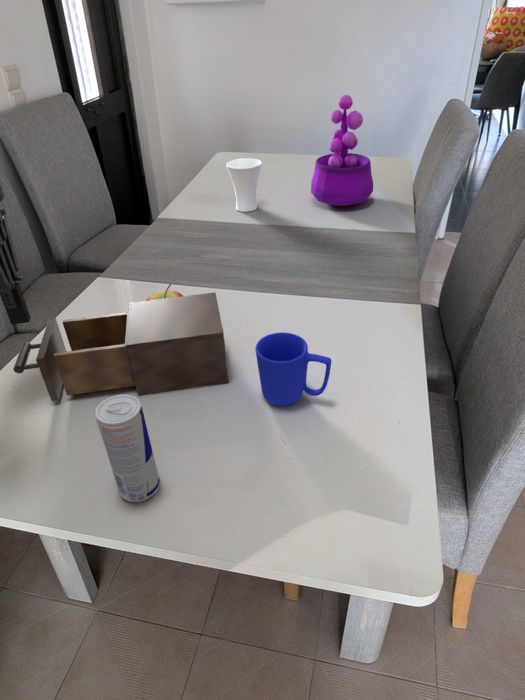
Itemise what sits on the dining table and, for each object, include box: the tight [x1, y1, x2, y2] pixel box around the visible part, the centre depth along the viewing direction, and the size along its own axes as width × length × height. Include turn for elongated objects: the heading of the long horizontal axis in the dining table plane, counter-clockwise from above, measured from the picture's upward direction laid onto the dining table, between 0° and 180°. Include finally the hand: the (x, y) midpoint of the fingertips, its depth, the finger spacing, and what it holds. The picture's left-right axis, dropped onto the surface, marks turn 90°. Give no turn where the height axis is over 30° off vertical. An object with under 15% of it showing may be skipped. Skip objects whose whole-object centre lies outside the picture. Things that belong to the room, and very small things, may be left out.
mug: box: [254, 332, 332, 407], centre depth 83 cm, size 8×12×10 cm
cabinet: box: [126, 292, 230, 397], centre depth 91 cm, size 16×14×11 cm
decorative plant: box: [310, 94, 374, 207], centre depth 150 cm, size 19×18×30 cm
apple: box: [145, 283, 184, 301], centre depth 102 cm, size 8×8×10 cm
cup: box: [225, 157, 262, 213], centre depth 154 cm, size 10×10×14 cm
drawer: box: [13, 311, 136, 402], centre depth 89 cm, size 20×12×9 cm, turn 100°
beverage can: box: [94, 394, 161, 503], centre depth 68 cm, size 6×6×15 cm
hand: (21, 320), depth 84 cm, fingers closed
